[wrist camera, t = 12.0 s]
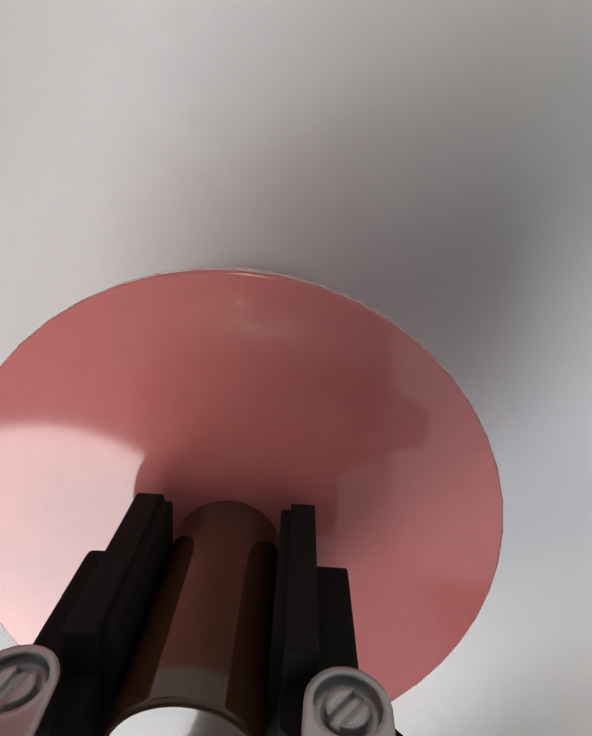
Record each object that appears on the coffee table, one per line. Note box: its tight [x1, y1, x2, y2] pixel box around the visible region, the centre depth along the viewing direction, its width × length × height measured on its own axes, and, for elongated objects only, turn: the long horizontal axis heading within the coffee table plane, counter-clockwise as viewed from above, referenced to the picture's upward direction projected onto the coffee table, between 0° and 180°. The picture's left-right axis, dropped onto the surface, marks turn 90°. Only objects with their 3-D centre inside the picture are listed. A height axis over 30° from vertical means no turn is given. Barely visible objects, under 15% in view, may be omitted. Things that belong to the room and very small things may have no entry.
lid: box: [0, 267, 503, 736], centre depth 10 cm, size 13×13×6 cm
